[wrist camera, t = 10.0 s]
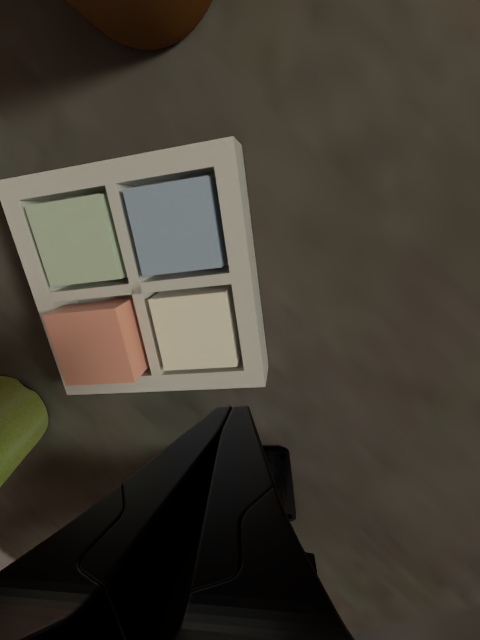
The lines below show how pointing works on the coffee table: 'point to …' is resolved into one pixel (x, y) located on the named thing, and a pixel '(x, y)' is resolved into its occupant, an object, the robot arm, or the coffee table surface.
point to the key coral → (97, 342)
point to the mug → (143, 20)
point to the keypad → (111, 179)
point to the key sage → (77, 240)
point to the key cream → (196, 328)
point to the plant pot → (18, 424)
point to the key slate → (177, 226)
